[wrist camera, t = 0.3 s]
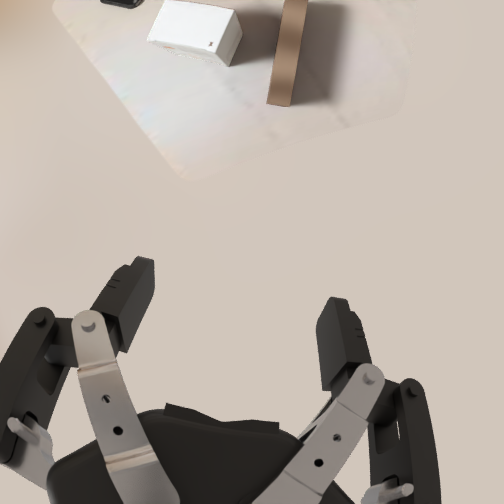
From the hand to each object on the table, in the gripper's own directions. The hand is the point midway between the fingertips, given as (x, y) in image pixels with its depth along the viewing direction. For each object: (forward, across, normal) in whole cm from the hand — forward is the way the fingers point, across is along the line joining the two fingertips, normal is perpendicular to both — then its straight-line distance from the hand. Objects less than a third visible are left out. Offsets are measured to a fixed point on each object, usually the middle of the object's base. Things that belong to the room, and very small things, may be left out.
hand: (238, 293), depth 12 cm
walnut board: (+29, 0, -15) cm, 33 cm away
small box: (+29, +10, -14) cm, 34 cm away
